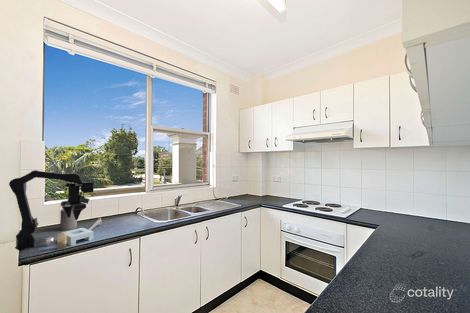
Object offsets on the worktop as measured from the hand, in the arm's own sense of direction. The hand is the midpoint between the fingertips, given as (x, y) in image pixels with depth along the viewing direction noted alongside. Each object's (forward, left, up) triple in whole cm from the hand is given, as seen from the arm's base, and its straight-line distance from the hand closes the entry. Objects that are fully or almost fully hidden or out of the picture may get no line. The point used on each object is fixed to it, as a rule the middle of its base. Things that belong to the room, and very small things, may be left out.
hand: (72, 218), depth 134 cm
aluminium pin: (-11, +2, -13) cm, 17 cm away
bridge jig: (+1, -3, -13) cm, 13 cm away
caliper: (+17, +11, -14) cm, 24 cm away
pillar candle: (+8, +27, -13) cm, 31 cm away
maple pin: (-9, -9, -13) cm, 18 cm away
